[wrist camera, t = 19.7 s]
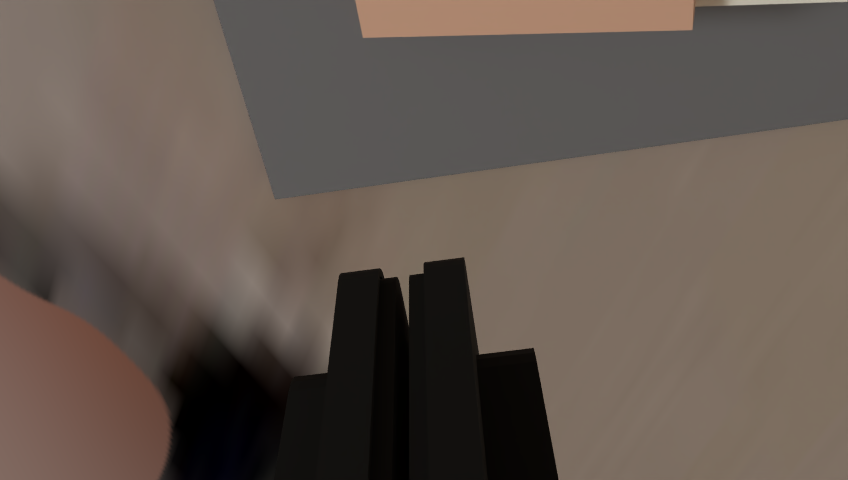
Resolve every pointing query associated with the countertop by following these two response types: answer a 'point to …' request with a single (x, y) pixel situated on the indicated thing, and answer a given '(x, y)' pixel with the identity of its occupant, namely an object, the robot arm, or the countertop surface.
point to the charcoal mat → (517, 89)
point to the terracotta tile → (520, 16)
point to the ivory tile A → (756, 2)
